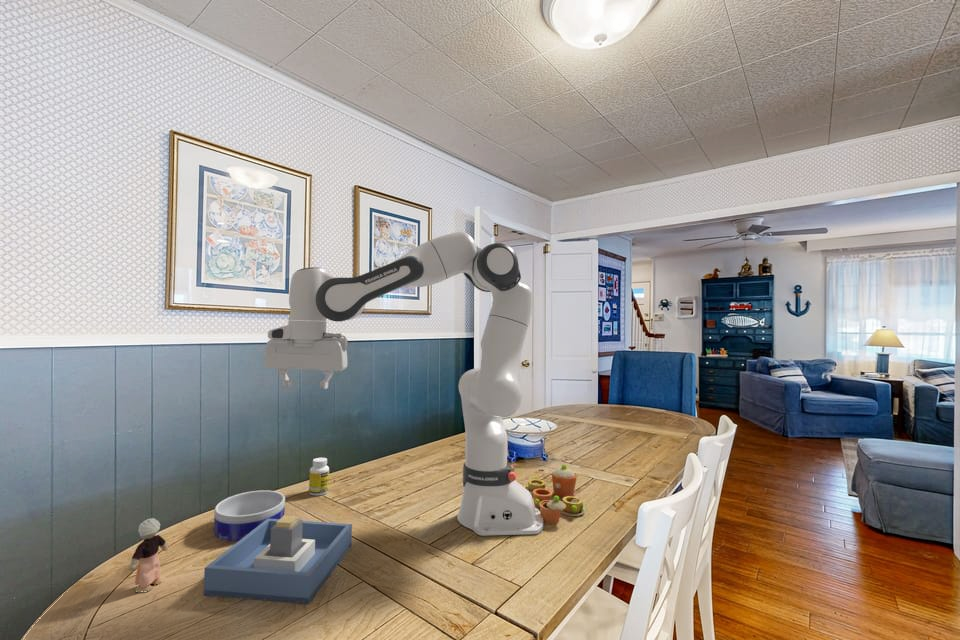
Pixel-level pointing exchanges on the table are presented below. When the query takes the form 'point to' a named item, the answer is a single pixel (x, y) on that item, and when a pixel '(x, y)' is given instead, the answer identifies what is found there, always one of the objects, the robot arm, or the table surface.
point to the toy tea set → (556, 496)
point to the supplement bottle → (319, 477)
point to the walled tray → (278, 564)
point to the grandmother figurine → (148, 555)
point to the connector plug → (286, 537)
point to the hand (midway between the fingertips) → (305, 387)
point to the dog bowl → (246, 513)
